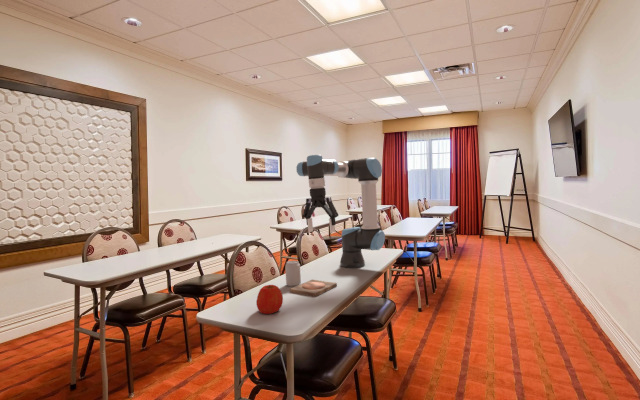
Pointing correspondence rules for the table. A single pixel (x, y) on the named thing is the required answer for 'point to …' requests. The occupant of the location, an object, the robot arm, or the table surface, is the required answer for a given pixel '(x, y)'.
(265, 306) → the apple
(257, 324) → the table surface
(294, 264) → the can
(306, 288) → the board
